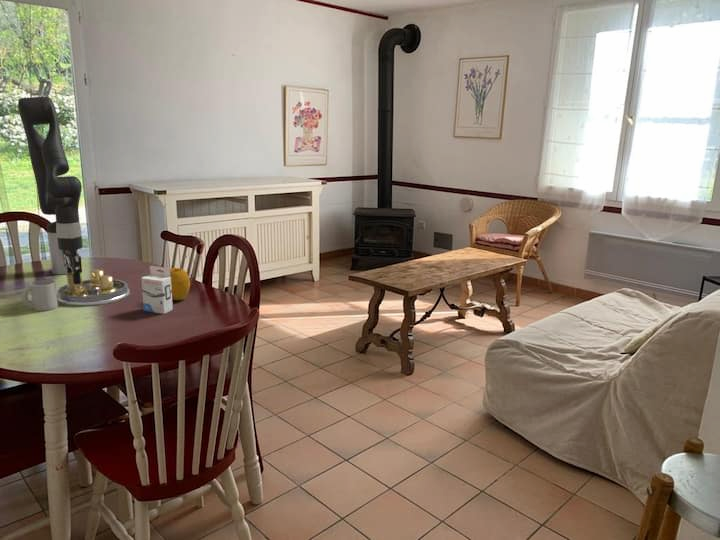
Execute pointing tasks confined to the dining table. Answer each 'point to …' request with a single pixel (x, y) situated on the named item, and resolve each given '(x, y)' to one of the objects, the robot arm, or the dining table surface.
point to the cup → (41, 295)
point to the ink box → (157, 291)
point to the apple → (179, 283)
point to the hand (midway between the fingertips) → (74, 281)
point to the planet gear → (74, 287)
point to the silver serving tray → (96, 291)
